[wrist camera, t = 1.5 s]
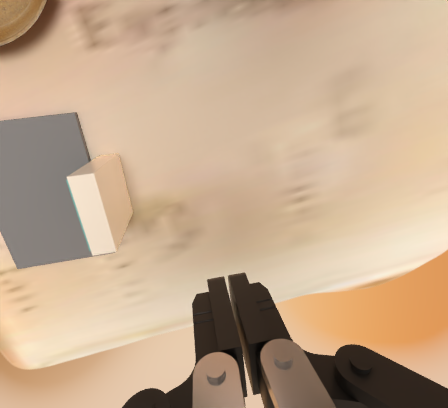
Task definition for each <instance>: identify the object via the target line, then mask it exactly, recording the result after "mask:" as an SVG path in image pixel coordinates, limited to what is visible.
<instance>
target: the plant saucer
mask: <svg viewBox="0 0 448 408" xmlns="http://www.w3.org/2000/svg"><path fill="white" fill-rule="evenodd" d="M46 1H47V0H0V46H2V45H5V44H7V43H10V42H12V41H14V40H16V39H17V38H19V37H20V36H22V35H23V34H25V33H26V32H27V31H28V30H29V29H30V28H31V27H32V26H33V24H34V23H35V22H36V21H37V19H38V18H39V16H40V14H41V13H42V11H43V9H44V6H45V4H46Z"/></svg>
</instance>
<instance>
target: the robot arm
mask: <svg viewBox="0 0 448 408" xmlns="http://www.w3.org/2000/svg"><path fill="white" fill-rule="evenodd" d="M228 281H229V290H230V298H231V302H230V298H229V295H228V291H227V287H226V283H225V279H224V277H218V278H213V279H207V282H208V288H209V292H206V293H200V294H197V295H196V297H195V299H194V301H193V303H192V308H193V323H194V338H195V353H196V363H195V367H194V370H193V371H192V373H191V375H190V377H189V378H188V379H187V380H186V381H185V382H183V383H182V384H181V385H179V386H178V387H176V388H174V389H173V390H171V391H169V392H168V393H166V394H165V393H164V392H163V391H161V390H158V389H154V388H150V389H145V390H142V391H140V392H138V393H136V394H135V395H133V396H132V397H131V398H130V399H129V400H128V401H127V402H126V403H125V405H124V406H123V407H122V408H245V399H244V397H247V390H246V380H245V371H244V361H243V356H244V360H245V364H246V368H247V372H248V376H249V380H250V384H251V387H252V391H253V395H255V394H261V397H262V400H263V404H264V408H448V389H447V388H445V387H443V386H441V385H440V384H438V383H435V382H434V381H431V380H430V379H428V378H425V377H424V376H422V375H419V374H418V373H416V372H414V371H412V370H410V369H408V368H406V367H404V366H402V365H400V364H398V363H396V362H394V361H392V360H390V359H388V358H386V357H384V356H382V355H380V354H378V353H376V352H374V351H372V350H370V349H368V348H366V347H363V346H360V345H352V344H351V345H345V346H343V347H341V348H339V349H338V351H337V352H336V354H335V356H329V355H318V354H313V353H309V352H307V351H305V350H303V349H301V347H300V346H299V345H297V344H296V343H294V342H293V340H292V339H291V338H290V335H289V333H288V331H287V329H286V327H285V325H284V322H283V320H282V318H281V316H280V314H279V312H278V310H277V308H276V306H275V304H274V301H273V300H272V297H271V295H270V293H269V291H268V289H267V288H266V287H264V286H263V285H262V284H261V283H259V282H258V283H252V284H249V282H248V279H247V276H246V274H245V273H240V274H234V275H229V276H228Z"/></svg>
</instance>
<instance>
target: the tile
mask: <svg viewBox="0 0 448 408" xmlns="http://www.w3.org/2000/svg"><path fill="white" fill-rule="evenodd" d="M66 182H67V185H68V188H69V191H70V194H71V197H72V200H73V203H74V206H75V209H76V212H77V215H78V218H79V221H80V224H81V227H82V230H83V233H84V236H85V239H86V242H87V245H88V248H89V251H91V253H92V256H94V255H100V254H106V253H112V252H117V250H118V247H119V245H120V243H121V240H122V238H123V235H124V233H125V231H126V228H127V226H128V224H129V221H130V219H131V216H132V214H133V210H132V206H131V202H130V198H129V194H128V190H127V186H126V182H125V177H124V173H123V169H122V165H121V161H120V157H119V153H115V154H108V155H100V156H98V157H96V158H95V159H93V160H92V161H90V162H89V163H87V164H86V165H84V166H82V167H81V168H79V169H78V170H76V171H75V172H73V173H72V174H70V175H69V176H67V180H66Z"/></svg>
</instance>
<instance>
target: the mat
mask: <svg viewBox="0 0 448 408" xmlns="http://www.w3.org/2000/svg"><path fill="white" fill-rule="evenodd" d="M89 162H90V157H89V154H88V150H87V147H86V143H85V140H84V136H83V133H82V130H81V126H80V123H79V119H78V116H77V112H76V113H67V114H58V115H49V116H40V117H31V118H22V119H13V120H4V121H0V232H1V234H2V236H3V238H4V240H5V243H6V245H7V247H8V249H9V251H10V254H11V256H12V258H13V260H14V262H15V264H16V267H17V269H21V268H27V267H33V266H39V265H45V264H51V263H57V262H63V261H69V260H75V259H81V258H87V257H93V256H92V253H91V251H89V248H88V245H87V242H86V239H85V236H84V233H83V230H82V227H81V224H80V221H79V218H78V215H77V212H76V209H75V206H74V203H73V200H72V197H71V194H70V191H69V188H68V185H67V182H66V180H67V176H69V175H70V174H72V173H73V172H75V171H76V170H78V169H79V168H81V167H82V166H84V165H86V164H87V163H89ZM112 253H115V252H112ZM106 254H110V253H106ZM100 255H105V254H100ZM94 256H99V255H94Z"/></svg>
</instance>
